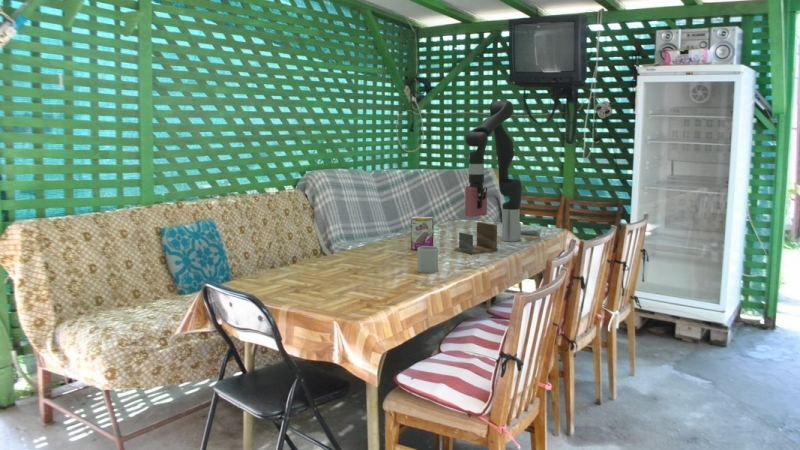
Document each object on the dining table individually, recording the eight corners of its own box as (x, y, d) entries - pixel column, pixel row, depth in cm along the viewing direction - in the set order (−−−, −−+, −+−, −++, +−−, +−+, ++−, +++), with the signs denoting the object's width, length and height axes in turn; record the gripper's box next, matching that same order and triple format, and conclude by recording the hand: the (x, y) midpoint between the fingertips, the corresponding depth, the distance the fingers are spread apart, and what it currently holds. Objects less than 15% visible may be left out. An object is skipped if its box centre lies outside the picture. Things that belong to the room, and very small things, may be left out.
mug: (423, 273, 282) (423, 250, 281) (413, 269, 291) (413, 247, 289) (446, 271, 287) (446, 248, 286) (434, 267, 296) (434, 244, 294)
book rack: (480, 247, 343) (480, 222, 341) (497, 251, 332) (497, 225, 331) (454, 250, 334) (454, 224, 332) (470, 254, 323) (470, 228, 321)
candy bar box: (411, 250, 337) (410, 217, 334) (411, 248, 342) (411, 216, 339) (433, 250, 336) (433, 217, 333) (433, 248, 341) (433, 216, 338)
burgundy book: (480, 214, 335) (481, 186, 333) (486, 215, 331) (487, 186, 329) (465, 215, 330) (465, 187, 328) (471, 216, 326) (471, 188, 324)
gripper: (492, 173, 324) (491, 208, 326) (473, 172, 336) (472, 206, 338) (480, 174, 320) (479, 209, 322) (461, 172, 332) (461, 207, 334)
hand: (476, 207), depth 330 cm, fingers closed on burgundy book, 4 cm apart
